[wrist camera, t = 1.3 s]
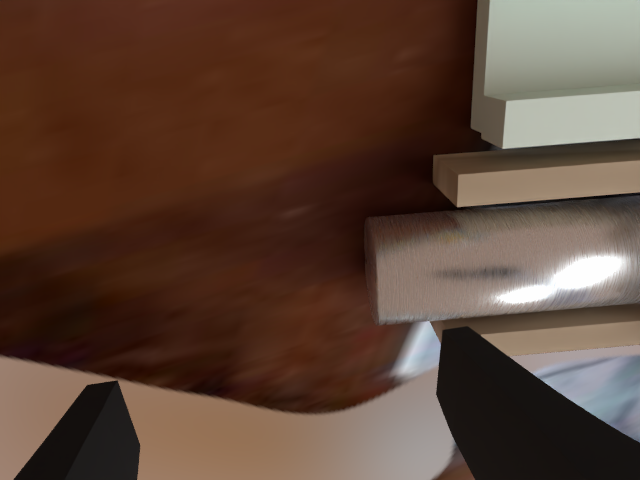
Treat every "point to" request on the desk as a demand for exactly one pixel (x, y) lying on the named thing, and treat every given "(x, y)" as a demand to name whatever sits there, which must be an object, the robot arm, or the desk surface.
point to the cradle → (556, 71)
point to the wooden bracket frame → (532, 185)
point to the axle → (503, 260)
